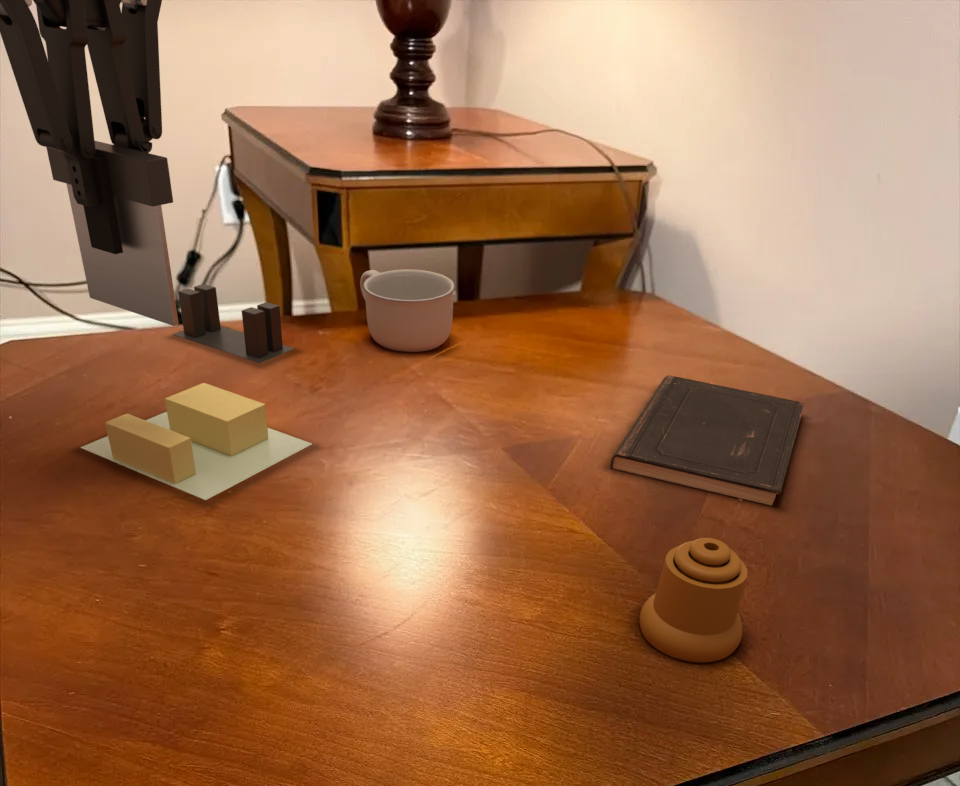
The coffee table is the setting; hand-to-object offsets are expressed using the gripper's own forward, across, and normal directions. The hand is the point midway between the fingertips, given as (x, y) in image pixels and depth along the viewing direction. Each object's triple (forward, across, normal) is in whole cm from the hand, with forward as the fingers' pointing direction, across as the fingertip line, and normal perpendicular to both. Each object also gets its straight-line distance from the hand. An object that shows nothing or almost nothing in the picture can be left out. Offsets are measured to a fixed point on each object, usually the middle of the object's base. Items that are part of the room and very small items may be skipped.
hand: (121, 245), depth 68 cm
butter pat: (+18, -2, -1) cm, 18 cm away
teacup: (+19, +41, +2) cm, 45 cm away
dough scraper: (+5, 0, 0) cm, 5 cm away
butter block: (+18, +6, -1) cm, 19 cm away
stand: (+19, +26, +16) cm, 36 cm away
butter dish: (+19, +4, -1) cm, 20 cm away
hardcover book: (+19, +38, -40) cm, 58 cm away
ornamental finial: (+19, +5, -50) cm, 54 cm away
